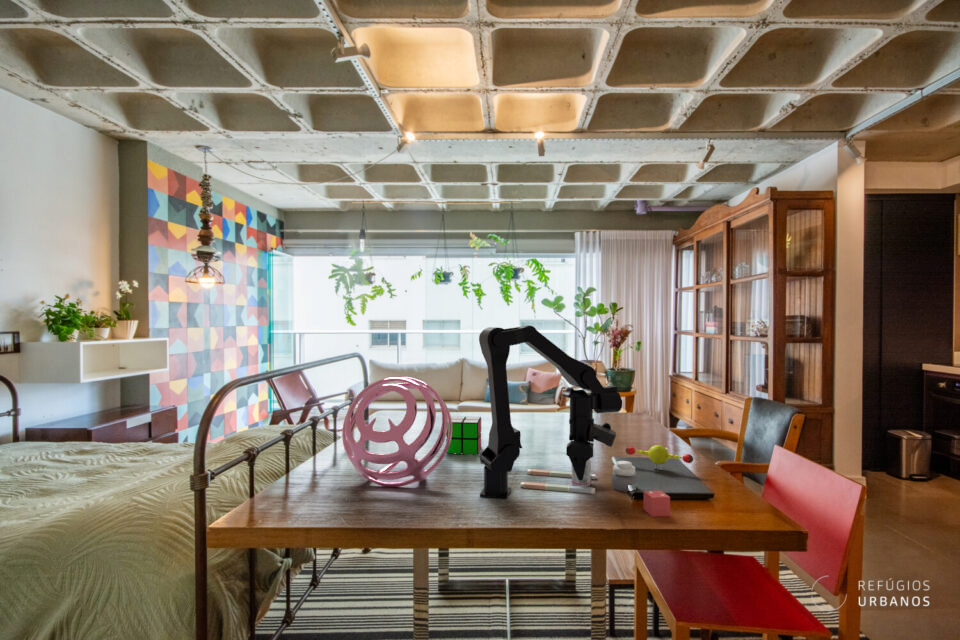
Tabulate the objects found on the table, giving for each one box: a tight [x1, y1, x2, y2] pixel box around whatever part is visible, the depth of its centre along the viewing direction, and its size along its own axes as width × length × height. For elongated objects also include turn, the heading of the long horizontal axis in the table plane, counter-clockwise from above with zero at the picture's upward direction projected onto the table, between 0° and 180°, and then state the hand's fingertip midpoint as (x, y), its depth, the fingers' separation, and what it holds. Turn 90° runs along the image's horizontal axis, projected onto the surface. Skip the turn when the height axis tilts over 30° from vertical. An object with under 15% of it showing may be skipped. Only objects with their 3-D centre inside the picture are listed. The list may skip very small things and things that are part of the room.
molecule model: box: [625, 444, 694, 465], centre depth 136 cm, size 18×6×7 cm, turn 58°
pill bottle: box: [571, 458, 592, 487], centre depth 123 cm, size 5×5×8 cm
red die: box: [643, 490, 671, 518], centre depth 105 cm, size 4×4×4 cm
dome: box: [612, 460, 636, 476], centre depth 121 cm, size 5×5×2 cm
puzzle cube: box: [445, 415, 482, 455], centre depth 156 cm, size 10×10×10 cm
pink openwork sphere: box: [341, 376, 452, 488], centre depth 127 cm, size 28×28×27 cm
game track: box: [519, 468, 638, 495], centre depth 124 cm, size 13×28×3 cm, turn 76°
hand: (581, 476), depth 123 cm, fingers open, 6 cm apart
